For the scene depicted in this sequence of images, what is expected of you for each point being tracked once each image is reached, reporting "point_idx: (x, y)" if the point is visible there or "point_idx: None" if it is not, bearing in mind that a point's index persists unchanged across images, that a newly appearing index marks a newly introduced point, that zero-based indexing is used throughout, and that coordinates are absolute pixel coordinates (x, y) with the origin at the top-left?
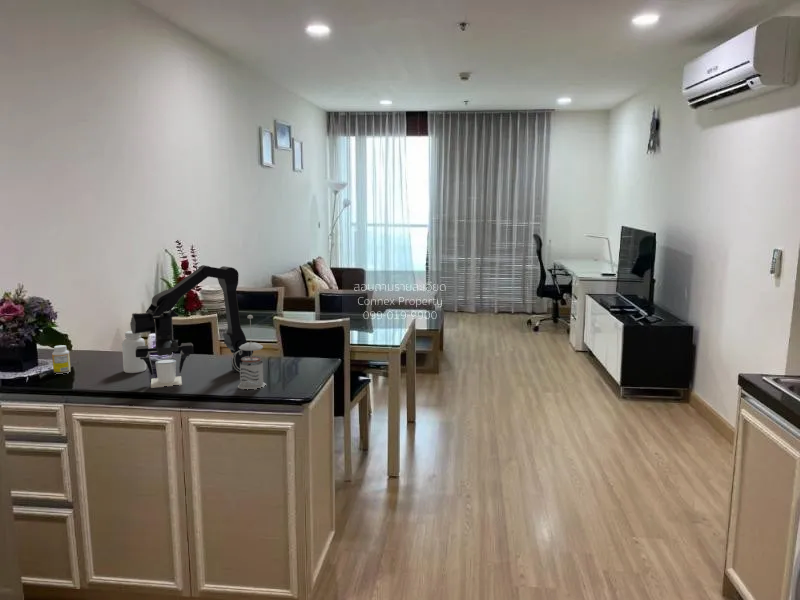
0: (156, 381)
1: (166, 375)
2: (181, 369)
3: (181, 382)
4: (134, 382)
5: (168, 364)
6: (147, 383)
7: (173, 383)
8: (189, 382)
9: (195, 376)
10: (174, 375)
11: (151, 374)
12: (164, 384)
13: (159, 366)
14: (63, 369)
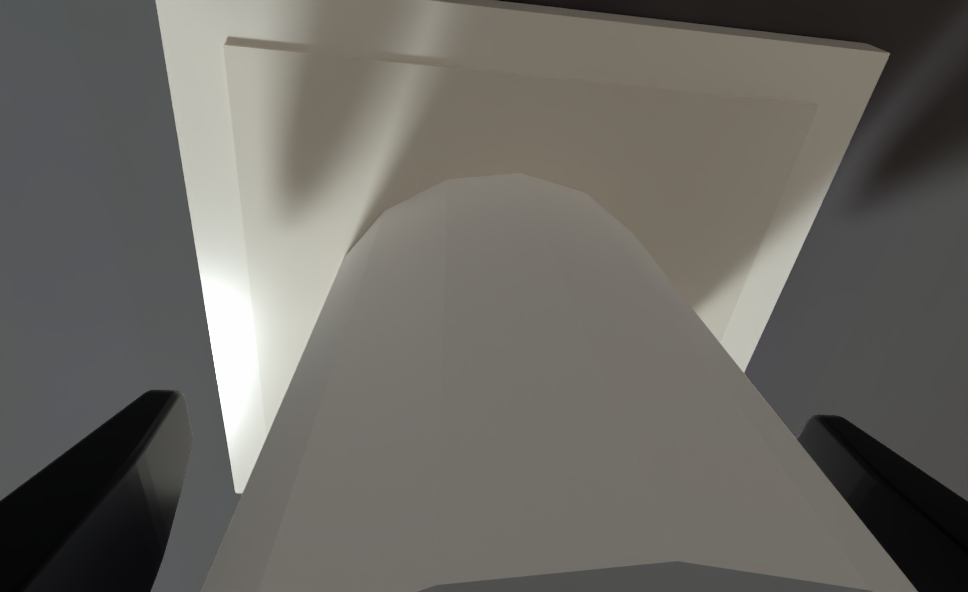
0: None
1: (541, 249)
2: (74, 448)
3: (176, 81)
4: None
5: (504, 538)
6: (781, 365)
7: (372, 56)
8: (22, 149)
9: (7, 472)
10: (321, 321)
11: (847, 426)
12: (582, 71)
13: (850, 526)
14: None
